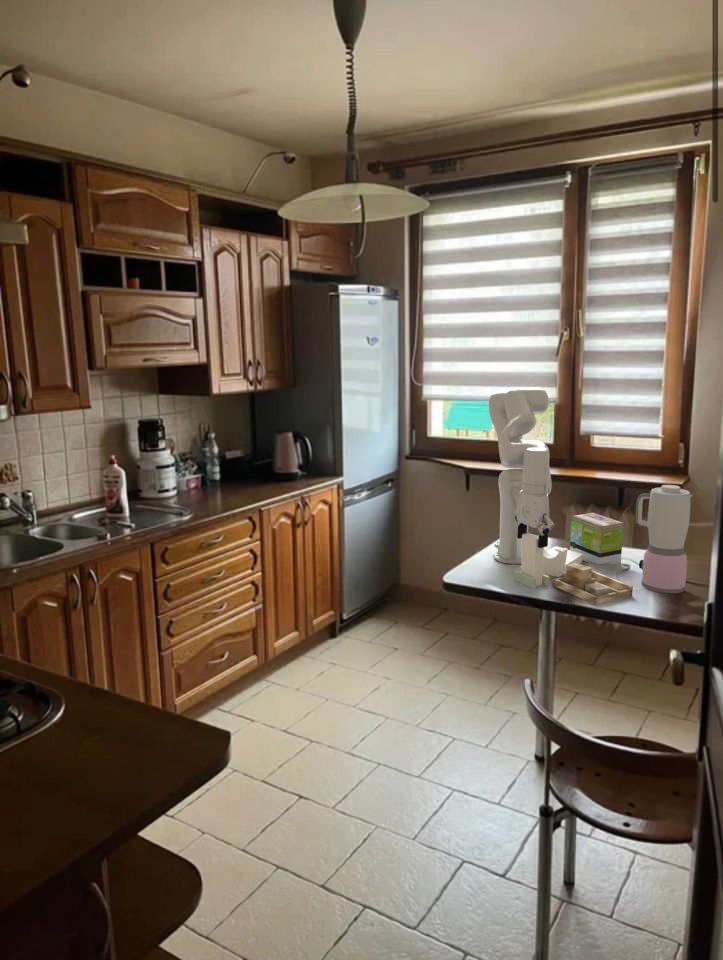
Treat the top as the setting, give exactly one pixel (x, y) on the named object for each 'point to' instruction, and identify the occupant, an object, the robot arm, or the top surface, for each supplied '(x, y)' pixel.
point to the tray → (614, 586)
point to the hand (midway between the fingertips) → (532, 542)
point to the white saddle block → (559, 560)
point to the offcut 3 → (596, 589)
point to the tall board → (532, 557)
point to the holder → (529, 579)
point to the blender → (665, 538)
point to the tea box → (597, 538)
